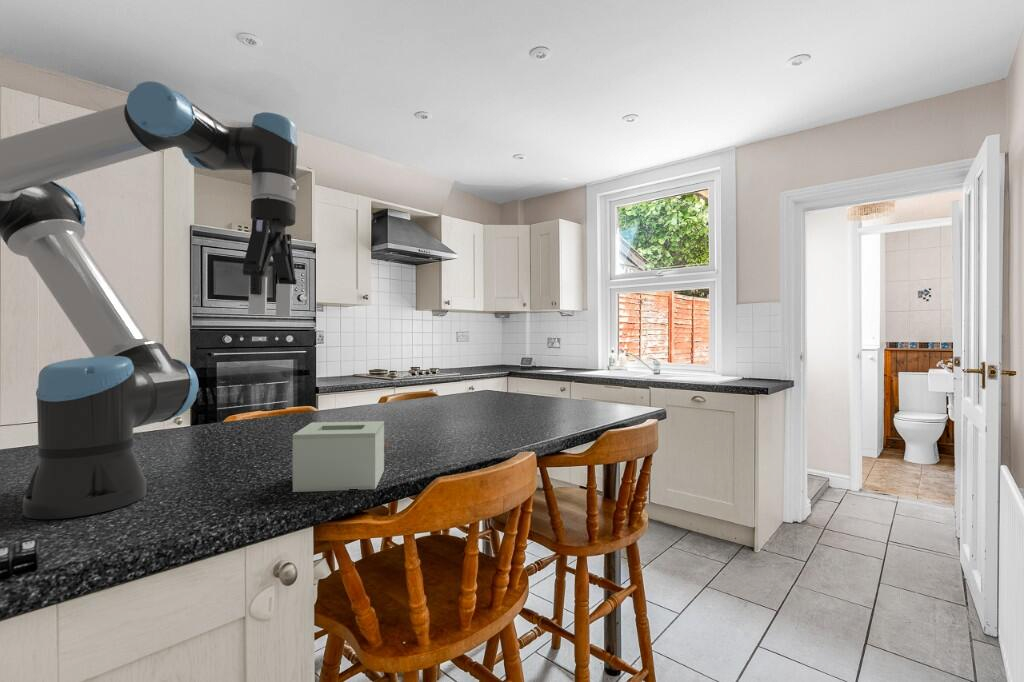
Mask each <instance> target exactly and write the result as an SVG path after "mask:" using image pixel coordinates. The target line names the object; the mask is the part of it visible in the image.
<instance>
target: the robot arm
mask: <svg viewBox="0 0 1024 682" xmlns="http://www.w3.org/2000/svg"><path fill="white" fill-rule="evenodd" d="M296 126H297V125H295V123H294V121H292V120H291V119H289V118H288V117H287V116H284V115H281V114H278V113H273V112H265V111H264V112H260V113H256V114H255V115H253V118H252V122H251V126H241V127H239V126H226V125H224V124H223V123H221V122H220V121H218V120H217V119H216V118H214V117H213V116H211V115H210V114H208V113H207V112H206V111H204V110H203V109H201V108H200V107H198V106H197V105H196V104H194V103H193V102H192V101H190V100H188V98H187V97H186V96H184V95H183V94H182V93H180V92H178V91H177V90H174V89H172V88H170V87H169V86H167V85H165V84H163V83H162V82H157V81H150V80H148V81H143V82H140V83H138V84H137V85H136V87H135V88H134V89H132V90H130V92H129V93H128V95H127V99H126V103H124V104H120V105H117V106H113V107H109V108H107V109H106V108H105V109H103V110H99V111H96V112H92V113H88V114H85V115H82V116H79V117H75V118H70V119H68V120H67V119H66V120H64V121H63V120H62V121H59V122H57V123H53V124H49V125H47V126H42V127H39V128H36V129H32V130H29V131H24V132H20V133H18V134H14V135H10V136H7V137H4V138H0V237H1V239H2V240H3V242H4V243H5V245H6V246H7V247H8V249H9V250H10V251H11V252H12V253H13V254H16V255H18V256H21V257H26V258H27V259H28V261H29V262H30V263H31V265H32V266H33V269H35V271H36V273H37V274H38V275H39V277H40V278H41V280H42V282H43V283H44V284H45V286H46V287H47V289H48V290H49V292H50V294H51V295H52V296H53V298H54V299H55V300H56V302H57V303H58V305H59V306H60V308H61V310H62V311H63V312H64V314H65V316H66V317H67V318H68V320H69V321H70V324H71V325H72V326H73V327H74V329H75V330H76V333H78V335H79V336H80V338H81V339H82V341H83V342H84V343H85V345H86V347H87V349H88V350H89V352H90V353H91V354H92V356H91V357H84V358H81V357H80V358H72V359H66V360H62V361H61V360H60V361H55V362H52V363H50V364H48V365H45V366H44V367H43V368H42V369H41V370H40V371H39V373H38V377H37V378H38V379H37V381H38V383H37V388H36V391H35V396H36V408H37V442H38V443H37V444H38V447H37V448H38V449H37V451H38V454H37V455H38V460H37V465H36V467H35V469H34V472H33V474H32V476H31V479H30V481H29V483H28V486H27V489H26V492H25V494H24V497H23V498H22V515H23V516H24V517H25V518H28V519H34V520H60V519H69V518H71V519H72V518H77V517H85V516H89V515H90V516H91V515H95V514H99V513H104V512H105V513H106V512H110V511H112V510H116V509H119V508H123V507H126V506H128V505H130V504H133V503H135V502H138V501H140V500H141V499H143V498H144V497H145V496H146V495H147V479H146V477H145V475H144V473H143V470H142V468H141V465H140V463H139V460H138V459H137V456H136V454H135V452H134V428H138V427H142V426H149V425H151V424H156V423H163V422H166V421H170V420H172V419H174V418H176V417H179V416H181V415H183V414H185V413H186V412H187V411H188V410H189V409H190V408H191V407H192V406H193V404H194V403H195V401H196V399H197V394H198V392H199V389H200V388H199V379H198V376H197V373H196V371H195V370H194V368H193V367H192V366H191V365H190V364H189V363H187V362H185V361H183V360H179V359H177V358H172V357H171V355H170V354H169V352H168V351H167V350H166V348H165V346H164V345H163V344H162V342H160V341H157V340H156V341H155V340H151V339H148V338H147V336H146V334H145V333H144V331H143V330H142V329H141V327H140V326H139V324H138V323H137V320H135V318H134V317H133V315H132V314H131V311H129V309H128V308H127V306H126V305H125V303H124V302H123V300H122V299H121V297H120V296H119V294H118V293H117V291H116V289H115V288H114V287H113V286H112V283H110V281H109V280H108V278H107V276H106V275H105V274H104V272H103V271H102V269H101V267H100V266H99V265H98V263H97V262H96V260H95V259H94V257H93V256H92V254H91V252H90V251H89V249H88V248H87V247H86V245H85V244H84V242H83V240H84V237H85V235H86V230H85V225H86V221H85V220H84V218H86V215H87V214H86V211H85V207H84V205H83V203H82V201H81V200H80V199H79V197H78V196H77V195H76V194H75V193H74V192H73V191H71V190H70V189H69V188H67V187H66V186H63V185H62V184H59V183H56V182H55V181H58V180H62V179H65V178H69V177H72V176H75V175H79V174H83V173H87V172H90V171H93V170H94V171H95V170H96V169H101V168H104V167H108V166H110V165H111V166H112V165H113V164H118V163H121V162H124V161H128V160H132V159H135V158H139V157H142V156H145V155H150V154H153V153H156V152H161V151H164V150H168V149H171V148H178V149H180V150H181V152H182V154H183V156H184V158H185V159H187V160H188V164H190V165H191V166H193V167H195V168H196V169H197V168H198V169H204V170H205V169H206V170H210V171H219V170H222V171H223V170H225V171H251V180H250V181H251V182H250V183H251V184H250V196H251V198H252V200H251V201H250V219H251V220H252V221H251V232H250V237H249V241H248V244H247V249H246V253H245V257H244V260H243V264H242V268H243V269H242V274H243V276H248V308H247V309H248V315H267V308H268V307H267V303H268V302H267V301H268V300H267V299H268V277H267V276H265V275H266V272H267V270H268V266H269V264H270V262H271V259H272V261H273V265H274V266H273V267H274V269H275V274H276V276H277V282H278V283H276V284H275V285H276V287H275V288H276V289H275V291H276V293H275V294H276V295H275V317H285V318H286V317H288V318H290V317H292V291H293V290H292V286H293V285H295V286H296V285H297V282H298V281H297V279H296V272H295V271H296V270H295V265H294V257H293V248H292V247H293V246H292V239H293V238H292V235H291V234H290V233H287V234H286V228H287V227H291V226H294V225H295V224H296V210H297V207H296V206H295V204H294V203H296V201H297V200H296V199H297V198H296V196H297V194H296V191H299V189H300V187H299V185H297V161H298V160H297V157H298V149H299V146H298V135H297V127H296Z"/></svg>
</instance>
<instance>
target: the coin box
mask: <svg viewBox="0 0 1024 682" xmlns="http://www.w3.org/2000/svg"><path fill="white" fill-rule="evenodd" d="M384 443H385V421H384V420H383V421H382V420H381V421H380V420H377V421H375V420H371V421H326V422H325V421H322V422H318V421H315V422H313V421H312V422H310V423H309V424H307V425H306V426H304V427H302V428H301V429H299V430H298V431H296V432H295V433H293V434H292V493H303V492H333V491H334V492H335V491H350V490H349V489H358V490H357V491H362V490H363V491H364V490H376V488H377V486H378V484H379V481H380V480H381V478H382V476H383V474H384V471H385V451H384Z"/></svg>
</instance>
